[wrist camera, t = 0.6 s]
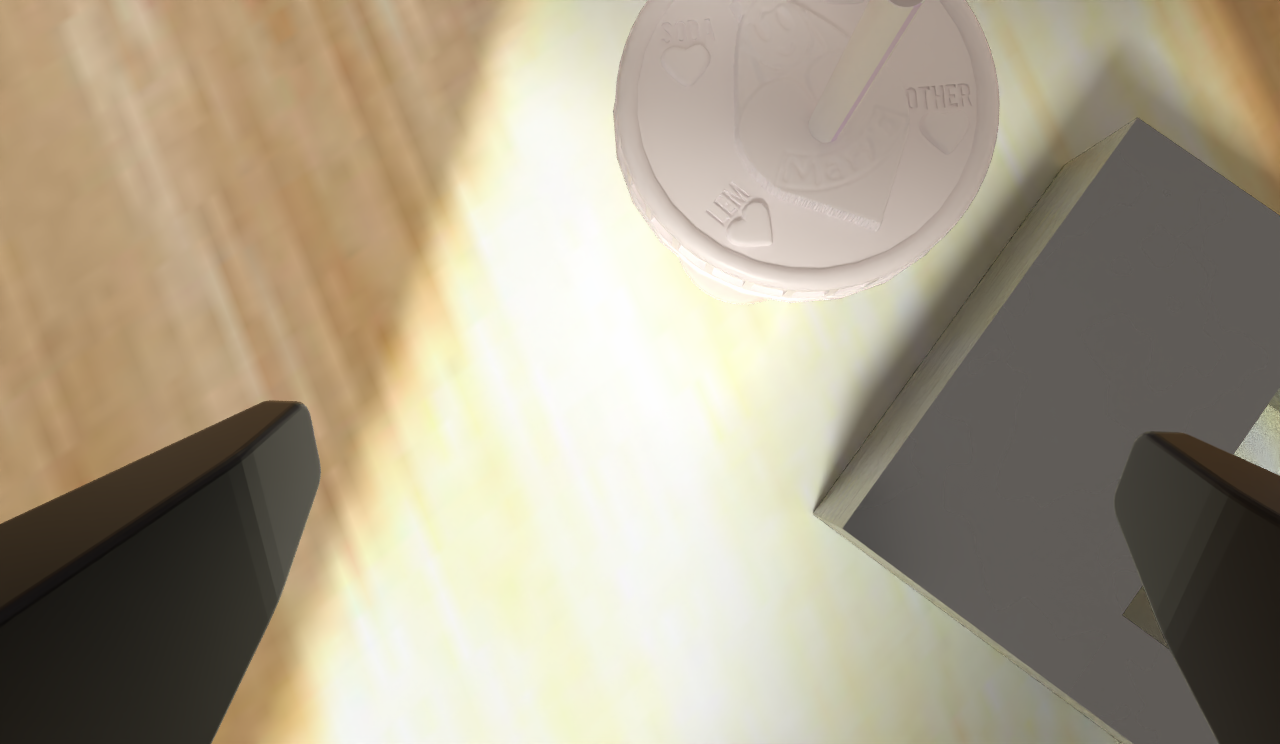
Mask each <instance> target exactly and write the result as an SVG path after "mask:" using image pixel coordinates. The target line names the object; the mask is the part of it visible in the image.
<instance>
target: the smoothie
mask: <svg viewBox="0 0 1280 744" xmlns="http://www.w3.org/2000/svg"><path fill="white" fill-rule="evenodd" d="M613 115H614V128H615V141H616V153H617V160H618V162H619V165H620V168H621V171H622V174H623V176H624V179H625V182H626V185H627V187H628V190H629V193H630V196H631V199H632V201H633V203H634V205H635V206H636V208H637V209H638V211H639V212H640V213H641V215H642V216H643V218H644V219H645V221H646V222H647V223H648V225H649V226H650V228H651V229H652V231H653V232H654V233H655V235H656V236H657V238H658V239H659V241H660V242H661V243H662V244H663V245H665V246H666V247H667V248H668V249H669V250H671V251H672V252H673V253H674V254H675V255H677V256H678V258H679V260H680V262H681V265H682V267H683V269H684V271H685V272H686V274H687V275H688V277H689V278H690V280H691V281H692V282H693V283H694V284H695V285H696V286H697V287H698V288H699V289H701V290H702V291H703V292H705V293H706V294H708V295H709V296H711V297H713V298H715V299H718V300H720V301H723V302H727V303H733V304H753V303H758V302H762V301H766V300H770V299H773V300H778V301H784V302H789V303H793V302H806V301H818V300H831V299H840V298H843V297H846V296H849V295H852V294H855V293H857V292H860V291H863V290H866V289H869V288H871V287H874V286H877V285H880V284H883V283H886V282H887V281H889V280H890V279H891V278H893V277H894V276H896V275H897V274H899V273H900V272H902V271H903V270H905V269H906V268H907V267H909V266H910V265H912V264H913V263H915V262H916V261H918V260H919V259H920V258H922V257H923V256H925V255H926V254H927V253H928V252H929V250H930V249H931V248H932V247H933V246H934V245H935V244H937V243H938V242H939V241H940V240H941V239H942V238H943V237H944V236H945V235H946V234H947V233H948V232H949V231H950V230H951V229H952V228H953V227H954V226H955V225H956V224H957V222H958V221H959V220H960V218H961V217H962V216H963V214H964V213H965V212H966V210H967V209H968V208H969V206H970V204H971V203H972V201H973V199H974V198H975V196H976V194H977V193H978V191H979V189H980V186H981V184H982V182H983V180H984V178H985V176H986V173H987V170H988V168H989V165H990V162H991V159H992V156H993V152H994V147H995V143H996V138H997V131H998V124H999V89H998V81H997V75H996V69H995V65H994V61H993V58H992V54H991V50H990V48H989V45H988V42H987V40H986V37H985V34H984V32H983V30H982V28H981V26H980V24H979V22H978V20H977V18H976V16H975V15H974V13H973V11H972V10H971V8H970V7H969V5H968V3H967V2H966V0H647V2H646V3H645V5H644V6H643V8H642V10H641V11H640V13H639V15H638V17H637V19H636V21H635V23H634V24H633V26H632V28H631V31H630V33H629V36H628V39H627V41H626V44H625V47H624V50H623V54H622V57H621V61H620V65H619V71H618V77H617V85H616V99H615V104H614V109H613Z"/></svg>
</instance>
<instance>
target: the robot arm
mask: <svg viewBox="0 0 1280 744" xmlns="http://www.w3.org/2000/svg"><path fill="white" fill-rule="evenodd" d="M320 474H321V467H320V460H319V455H318V450H317V445H316V440H315V436H314V431H313V426H312V421H311V416H310V413H309V411H308V409H307V407H306V406H305V405H304V404H303V403H301V402H296V401H264V402H262V403H259V404H257V405H255V406H253V407H251V408H249V409H246V410H244V411H242V412H240V413H238V414H236V415H234V416H231V417H229V418H227V419H225V420H223V421H221V422H219V423H216V424H214V425H212V426H210V427H208V428H206V429H204V430H201V431H199V432H197V433H195V434H193V435H191V436H188V437H186V438H184V439H182V440H180V441H178V442H176V443H173V444H171V445H169V446H167V447H165V448H163V449H161V450H158V451H156V452H154V453H152V454H150V455H148V456H146V457H143V458H141V459H139V460H137V461H135V462H133V463H130V464H128V465H126V466H124V467H122V468H120V469H118V470H115V471H113V472H111V473H109V474H107V475H105V476H103V477H100V478H98V479H96V480H94V481H92V482H90V483H87V484H85V485H83V486H81V487H79V488H77V489H75V490H72V491H70V492H68V493H66V494H64V495H62V496H60V497H57V498H55V499H53V500H51V501H49V502H47V503H45V504H42V505H40V506H38V507H36V508H34V509H32V510H29V511H27V512H25V513H23V514H21V515H19V516H17V517H14V518H12V519H10V520H8V521H6V522H4V523H2V524H0V744H211V743H212V741H213V739H214V737H215V735H216V733H217V731H218V729H219V727H220V725H221V722H222V720H223V718H224V716H225V714H226V712H227V710H228V708H229V706H230V704H231V702H232V699H233V697H234V695H235V693H236V691H237V689H238V687H239V685H240V683H241V681H242V679H243V676H244V674H245V672H246V670H247V668H248V666H249V664H250V662H251V660H252V658H253V656H254V654H255V651H256V649H257V647H258V645H259V643H260V641H261V639H262V637H263V635H264V633H265V631H266V628H267V626H268V624H269V622H270V620H271V618H272V615H273V613H274V611H275V609H276V606H277V604H278V602H279V599H280V597H281V594H282V591H283V589H284V586H285V583H286V580H287V577H288V575H289V572H290V569H291V566H292V563H293V560H294V557H295V554H296V551H297V548H298V545H299V542H300V539H301V536H302V533H303V530H304V528H305V525H306V522H307V519H308V516H309V513H310V510H311V507H312V504H313V501H314V498H315V495H316V492H317V489H318V486H319V482H320ZM1114 510H1115V515H1116V518H1117V521H1118V523H1119V526H1120V528H1121V531H1122V534H1123V536H1124V539H1125V541H1126V544H1127V546H1128V549H1129V552H1130V554H1131V557H1132V559H1133V562H1134V564H1135V567H1136V570H1137V572H1138V575H1139V577H1140V580H1141V583H1142V585H1143V588H1144V590H1145V593H1146V595H1147V598H1148V601H1149V603H1150V606H1151V608H1152V611H1153V613H1154V616H1155V618H1156V621H1157V623H1158V625H1159V628H1160V630H1161V632H1162V635H1163V637H1164V639H1165V641H1166V643H1167V645H1168V647H1169V649H1170V652H1171V654H1172V656H1173V658H1174V660H1175V662H1176V664H1177V665H1178V667H1179V669H1180V671H1181V673H1182V675H1183V677H1184V679H1185V681H1186V683H1187V685H1188V687H1189V689H1190V690H1191V692H1192V694H1193V696H1194V698H1195V700H1196V702H1197V704H1198V706H1199V708H1200V710H1201V712H1202V714H1203V715H1204V717H1205V719H1206V721H1207V723H1208V725H1209V727H1210V729H1211V731H1212V733H1213V735H1214V737H1215V739H1216V740H1217V742H1218V744H1280V476H1279V475H1277V474H1275V473H1272V472H1270V471H1268V470H1266V469H1264V468H1261V467H1259V466H1257V465H1255V464H1252V463H1250V462H1248V461H1246V460H1244V459H1241V458H1239V457H1237V456H1235V455H1233V454H1230V453H1228V452H1226V451H1224V450H1221V449H1219V448H1217V447H1215V446H1213V445H1210V444H1208V443H1206V442H1204V441H1202V440H1199V439H1197V438H1195V437H1193V436H1191V435H1188V434H1185V433H1180V432H1157V431H1149V432H1145V433H1143V434H1141V435H1139V436H1138V437H1137V439H1136V440H1135V442H1134V444H1133V446H1132V448H1131V451H1130V454H1129V456H1128V459H1127V462H1126V464H1125V467H1124V469H1123V472H1122V475H1121V477H1120V480H1119V483H1118V485H1117V488H1116V491H1115V495H1114Z"/></svg>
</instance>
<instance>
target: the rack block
mask: <svg viewBox="0 0 1280 744" xmlns="http://www.w3.org/2000/svg"><path fill="white" fill-rule="evenodd" d="M1268 404H1270V405H1271V406H1272V407H1274V408H1275V409H1277V410H1278V411H1280V215H1278V214H1277V213H1275V212H1274V211H1272V210H1271V209H1269V208H1268V207H1267V206H1265V205H1264V204H1262V203H1261V202H1259V201H1258V200H1256V199H1255V198H1254V197H1252V196H1251V195H1249V194H1248V193H1246V192H1245V191H1243V190H1242V189H1240V188H1239V187H1238V186H1236V185H1235V184H1233V183H1232V182H1230V181H1229V180H1227V179H1226V178H1225V177H1223V176H1222V175H1220V174H1219V173H1217V172H1216V171H1214V170H1213V169H1212V168H1210V167H1209V166H1207V165H1206V164H1204V163H1203V162H1201V161H1200V160H1199V159H1197V158H1196V157H1194V156H1193V155H1191V154H1190V153H1188V152H1187V151H1185V150H1184V149H1183V148H1181V147H1180V146H1178V145H1177V144H1175V143H1174V142H1172V141H1171V140H1170V139H1168V138H1167V137H1165V136H1164V135H1162V134H1161V133H1159V132H1158V131H1157V130H1155V129H1154V128H1152V127H1151V126H1149V125H1148V124H1146V123H1145V122H1143V121H1142V120H1141V119H1139V118H1136V119H1135V120H1133V121H1132V122H1130V123H1128V124H1127V125H1125V126H1124V127H1122V128H1121V129H1119V130H1118V131H1116V132H1115V133H1113V134H1112V135H1110V136H1108V137H1107V138H1105V139H1104V140H1102V141H1101V142H1099V143H1098V144H1096V145H1095V146H1093V147H1092V148H1090V149H1088V150H1087V151H1085V152H1084V153H1082V154H1081V155H1079V156H1078V157H1076V158H1075V159H1073V160H1072V161H1070V162H1068V163H1067V164H1065V165H1064V166H1063V168H1062V169H1061V170H1060V172H1059V173H1058V175H1057V176H1056V177H1055V179H1054V180H1053V182H1052V183H1051V184H1050V186H1049V187H1048V188H1047V190H1046V191H1045V193H1044V194H1043V195H1042V197H1041V198H1040V200H1039V201H1038V202H1037V204H1036V205H1035V206H1034V208H1033V209H1032V211H1031V212H1030V213H1029V215H1028V216H1027V218H1026V219H1025V220H1024V222H1023V223H1022V224H1021V226H1020V227H1019V229H1018V230H1017V231H1016V233H1015V234H1014V236H1013V237H1012V238H1011V240H1010V241H1009V242H1008V244H1007V245H1006V247H1005V248H1004V249H1003V251H1002V252H1001V254H1000V255H999V256H998V258H997V259H996V260H995V262H994V263H993V265H992V266H991V267H990V269H989V270H988V272H987V273H986V274H985V276H984V277H983V278H982V280H981V281H980V283H979V284H978V285H977V287H976V288H975V290H974V291H973V292H972V294H971V295H970V296H969V298H968V299H967V301H966V302H965V303H964V305H963V306H962V308H961V309H960V310H959V312H958V313H957V314H956V316H955V317H954V319H953V320H952V321H951V323H950V324H949V326H948V327H947V328H946V330H945V331H944V332H943V334H942V335H941V337H940V338H939V339H938V341H937V342H936V344H935V345H934V346H933V348H932V349H931V350H930V352H929V353H928V355H927V356H926V357H925V359H924V360H923V362H922V363H921V364H920V366H919V367H918V368H917V370H916V371H915V373H914V374H913V375H912V377H911V378H910V380H909V381H908V382H907V384H906V385H905V386H904V388H903V389H902V391H901V392H900V393H899V395H898V396H897V398H896V399H895V400H894V402H893V403H892V404H891V406H890V407H889V409H888V410H887V411H886V413H885V414H884V416H883V417H882V418H881V420H880V421H879V422H878V424H877V425H876V427H875V428H874V429H873V431H872V432H871V434H870V435H869V436H868V438H867V439H866V440H865V442H864V443H863V445H862V446H861V447H860V449H859V450H858V452H857V453H856V454H855V456H854V457H853V458H852V460H851V461H850V463H849V464H848V465H847V467H846V468H845V470H844V471H843V472H842V474H841V475H840V476H839V478H838V479H837V481H836V482H835V483H834V485H833V486H832V488H831V489H830V490H829V492H828V493H827V494H826V496H825V497H824V499H823V500H822V501H821V503H820V504H819V506H818V507H817V508H816V510H815V511H814V512H813V515H815V516H816V517H817V518H819V519H820V520H821V521H823V522H824V523H825V524H827V525H828V526H829V527H831V528H832V529H834V530H835V531H836V532H838V533H839V534H840V535H842V536H843V537H844V538H846V539H847V540H848V541H850V542H851V543H852V544H854V545H855V546H857V547H858V548H859V549H861V550H862V551H863V552H865V553H866V554H867V555H869V556H870V557H871V558H873V559H874V560H875V561H877V562H878V563H879V564H881V565H882V566H884V567H885V568H886V569H888V570H889V571H890V572H892V573H893V574H894V575H896V576H897V577H898V578H900V579H901V580H902V581H904V582H905V583H906V584H908V585H909V586H911V587H912V588H913V589H915V590H916V591H917V592H919V593H920V594H921V595H923V596H924V597H925V598H927V599H928V600H929V601H931V602H932V603H933V604H935V605H936V606H938V607H939V608H940V609H942V610H943V611H944V612H946V613H947V614H948V615H950V616H951V617H952V618H954V619H955V620H956V621H958V622H959V623H960V624H962V625H963V626H965V627H966V628H967V629H969V630H970V631H971V632H973V633H974V634H975V635H977V636H978V637H979V638H981V639H982V640H983V641H985V642H986V643H987V644H989V645H990V646H992V647H993V648H994V649H996V650H997V651H998V652H1000V653H1001V654H1002V655H1004V656H1005V657H1006V658H1008V659H1009V660H1010V661H1012V662H1013V663H1014V664H1016V665H1017V666H1019V667H1020V668H1021V669H1023V670H1024V671H1025V672H1027V673H1028V674H1029V675H1031V676H1032V677H1033V678H1035V679H1036V680H1037V681H1039V682H1040V683H1042V684H1043V685H1044V686H1046V687H1047V688H1048V689H1050V690H1051V691H1052V692H1054V693H1055V694H1056V695H1058V696H1059V697H1060V698H1062V699H1063V700H1064V701H1066V702H1067V703H1069V704H1070V705H1071V706H1073V707H1074V708H1075V709H1077V710H1078V711H1079V712H1081V713H1082V714H1083V715H1085V716H1086V717H1087V718H1089V719H1090V720H1091V721H1093V722H1094V723H1096V724H1097V725H1098V726H1100V727H1101V728H1102V729H1104V730H1105V731H1106V732H1108V733H1109V734H1110V735H1112V736H1113V737H1114V738H1116V739H1117V740H1118V741H1120V742H1121V743H1123V744H1218V742H1217V740H1216V739H1215V737H1214V735H1213V733H1212V731H1211V729H1210V727H1209V725H1208V723H1207V721H1206V719H1205V717H1204V715H1203V714H1202V712H1201V710H1200V708H1199V706H1198V704H1197V702H1196V700H1195V698H1194V696H1193V694H1192V692H1191V690H1190V689H1189V687H1188V685H1187V683H1186V681H1185V679H1184V677H1183V675H1182V673H1181V671H1180V669H1179V667H1178V665H1177V664H1176V662H1175V660H1174V658H1173V656H1172V654H1171V652H1170V650H1169V649H1168V648H1167V647H1165V646H1164V645H1163V644H1161V643H1160V642H1158V641H1157V640H1156V639H1154V638H1153V637H1152V636H1150V635H1149V634H1147V633H1146V632H1145V631H1143V630H1142V629H1141V628H1139V627H1138V626H1137V625H1135V624H1134V623H1132V622H1131V621H1130V620H1128V619H1127V618H1126V617H1124V616H1123V615H1122V614H1123V613H1124V612H1125V610H1126V609H1127V607H1128V606H1129V604H1130V603H1131V601H1132V600H1133V599H1134V597H1135V596H1136V594H1137V593H1138V591H1139V590H1140V588H1141V587H1142V586H1143V585H1142V583H1141V580H1140V577H1139V575H1138V572H1137V570H1136V567H1135V564H1134V562H1133V559H1132V557H1131V554H1130V552H1129V549H1128V546H1127V544H1126V541H1125V539H1124V536H1123V534H1122V531H1121V528H1120V526H1119V523H1118V521H1117V518H1116V515H1115V510H1114V495H1115V491H1116V488H1117V485H1118V483H1119V480H1120V477H1121V475H1122V472H1123V469H1124V467H1125V464H1126V462H1127V459H1128V456H1129V454H1130V451H1131V448H1132V446H1133V444H1134V442H1135V440H1136V439H1137V437H1138V436H1139V435H1141V434H1143V433H1145V432H1149V431H1157V432H1180V433H1185V434H1188V435H1191V436H1193V437H1195V438H1197V439H1199V440H1202V441H1204V442H1206V443H1208V444H1210V445H1213V446H1215V447H1217V448H1219V449H1221V450H1224V451H1226V452H1228V453H1230V454H1234V453H1235V451H1236V450H1237V448H1238V447H1239V446H1240V444H1241V443H1242V441H1243V440H1244V438H1245V437H1246V435H1247V434H1248V433H1249V431H1250V430H1251V428H1252V427H1253V425H1254V424H1255V422H1256V421H1257V420H1258V418H1259V417H1260V415H1261V414H1262V412H1263V411H1264V409H1265V408H1266V407H1267V405H1268Z"/></svg>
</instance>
